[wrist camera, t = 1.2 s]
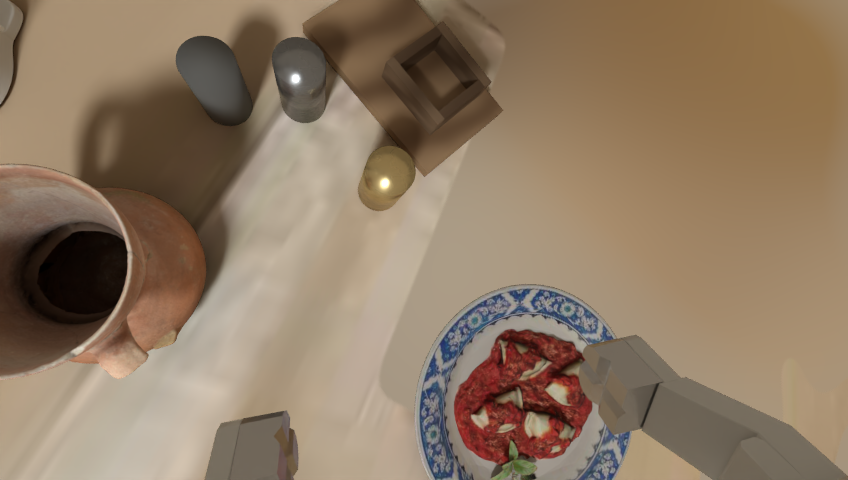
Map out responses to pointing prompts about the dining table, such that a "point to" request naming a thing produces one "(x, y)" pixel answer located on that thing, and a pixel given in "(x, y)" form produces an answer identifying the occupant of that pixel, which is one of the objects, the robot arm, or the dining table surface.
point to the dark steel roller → (300, 78)
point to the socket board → (406, 74)
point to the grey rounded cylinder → (215, 79)
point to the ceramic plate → (515, 392)
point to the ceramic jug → (90, 273)
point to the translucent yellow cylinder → (386, 177)
